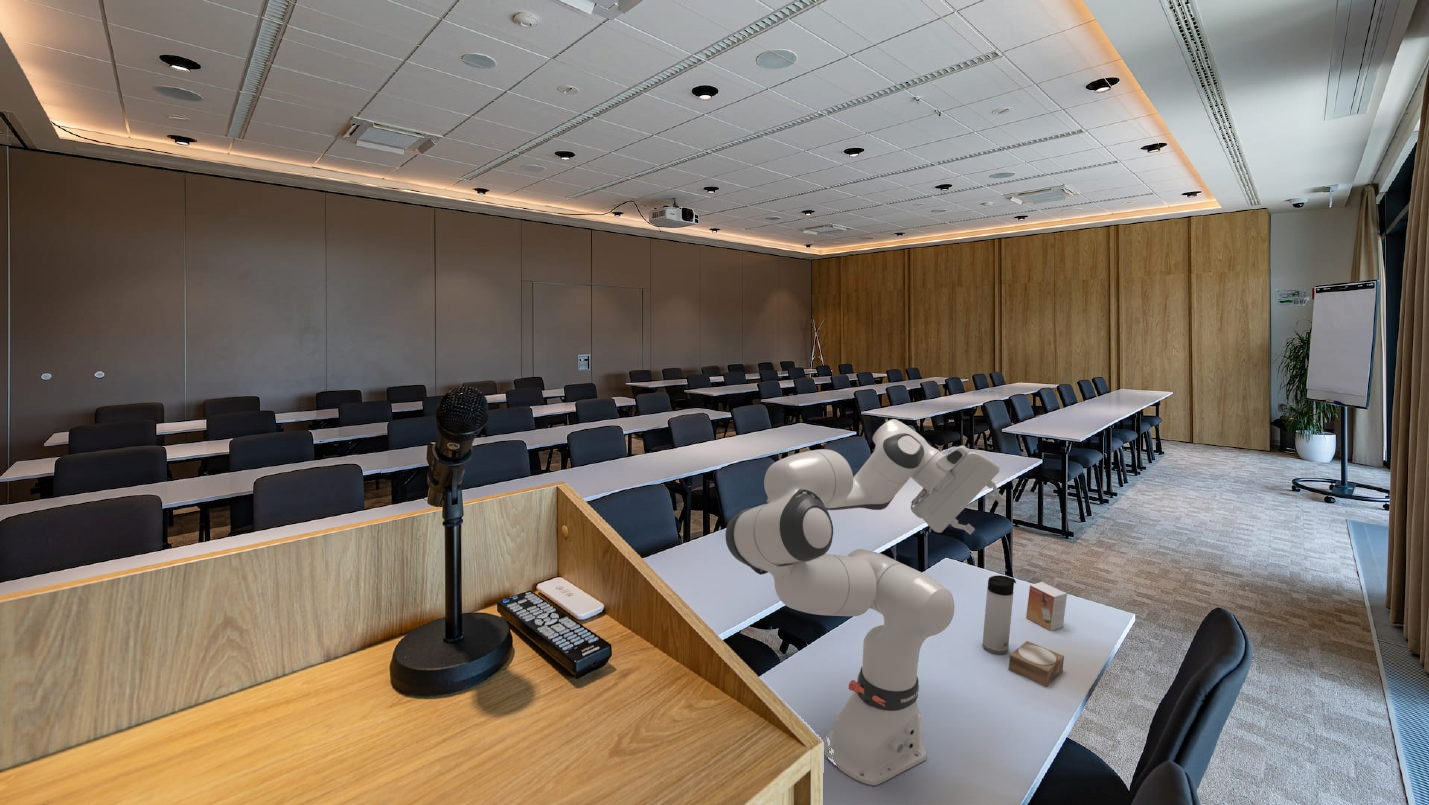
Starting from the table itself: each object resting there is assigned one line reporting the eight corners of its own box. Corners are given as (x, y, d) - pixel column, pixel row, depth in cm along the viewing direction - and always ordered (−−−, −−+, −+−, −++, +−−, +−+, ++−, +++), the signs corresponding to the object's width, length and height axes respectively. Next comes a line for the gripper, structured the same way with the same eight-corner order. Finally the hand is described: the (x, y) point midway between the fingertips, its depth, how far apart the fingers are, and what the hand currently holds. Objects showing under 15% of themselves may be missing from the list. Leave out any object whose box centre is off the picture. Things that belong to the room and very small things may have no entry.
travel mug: (1012, 656, 159) (1019, 585, 156) (985, 653, 160) (991, 582, 157) (1005, 643, 165) (1012, 574, 162) (979, 640, 166) (985, 572, 163)
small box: (1025, 618, 178) (1028, 584, 176) (1038, 614, 181) (1042, 581, 179) (1050, 631, 171) (1054, 596, 169) (1063, 627, 173) (1067, 592, 172)
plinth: (1046, 686, 147) (1047, 670, 146) (1008, 669, 153) (1009, 654, 153) (1062, 670, 153) (1064, 655, 152) (1025, 654, 160) (1027, 639, 159)
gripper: (904, 508, 139) (954, 552, 134) (966, 441, 133) (1020, 484, 128) (908, 505, 144) (956, 547, 139) (968, 440, 139) (1020, 481, 134)
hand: (987, 516), depth 134 cm, fingers open, 8 cm apart
